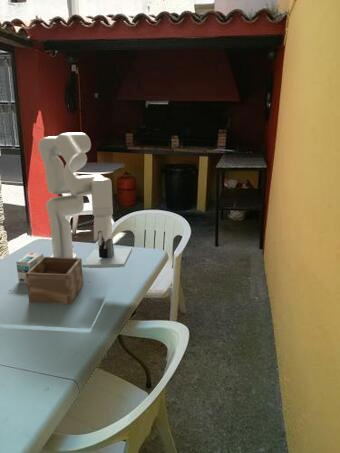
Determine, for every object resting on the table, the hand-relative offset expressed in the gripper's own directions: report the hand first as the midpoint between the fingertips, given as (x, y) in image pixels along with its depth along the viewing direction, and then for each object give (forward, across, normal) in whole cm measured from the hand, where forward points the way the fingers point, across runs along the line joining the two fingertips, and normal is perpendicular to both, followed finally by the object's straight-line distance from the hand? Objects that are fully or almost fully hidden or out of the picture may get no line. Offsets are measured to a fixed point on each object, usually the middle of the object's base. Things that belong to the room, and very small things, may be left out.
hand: (105, 254), depth 138 cm
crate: (+17, +4, -19) cm, 26 cm away
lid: (+2, 0, +1) cm, 2 cm away
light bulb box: (+17, -8, -35) cm, 40 cm away
